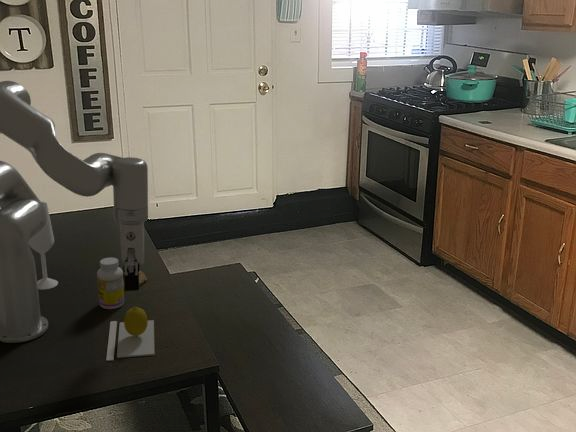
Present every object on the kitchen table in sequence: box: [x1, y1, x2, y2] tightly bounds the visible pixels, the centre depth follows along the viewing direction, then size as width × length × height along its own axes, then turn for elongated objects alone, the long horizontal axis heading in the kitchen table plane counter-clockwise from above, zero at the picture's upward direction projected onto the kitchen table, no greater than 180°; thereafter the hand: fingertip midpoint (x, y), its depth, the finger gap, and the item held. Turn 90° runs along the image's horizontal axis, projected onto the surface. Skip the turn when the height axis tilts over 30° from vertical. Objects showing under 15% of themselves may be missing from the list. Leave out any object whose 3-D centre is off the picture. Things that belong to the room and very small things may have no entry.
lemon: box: [123, 306, 148, 337], centre depth 151 cm, size 6×6×8 cm
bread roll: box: [119, 265, 148, 289], centre depth 181 cm, size 11×11×5 cm
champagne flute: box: [28, 201, 59, 290], centre depth 174 cm, size 7×7×24 cm
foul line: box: [105, 320, 118, 362], centre depth 151 cm, size 2×18×1 cm, turn 12°
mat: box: [116, 319, 156, 359], centre depth 152 cm, size 8×16×1 cm, turn 12°
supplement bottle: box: [96, 257, 125, 310], centre depth 166 cm, size 7×7×13 cm
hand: (132, 280), depth 147 cm, fingers open, 9 cm apart
